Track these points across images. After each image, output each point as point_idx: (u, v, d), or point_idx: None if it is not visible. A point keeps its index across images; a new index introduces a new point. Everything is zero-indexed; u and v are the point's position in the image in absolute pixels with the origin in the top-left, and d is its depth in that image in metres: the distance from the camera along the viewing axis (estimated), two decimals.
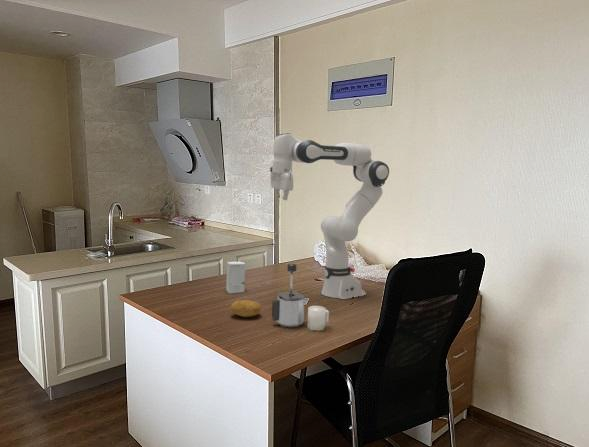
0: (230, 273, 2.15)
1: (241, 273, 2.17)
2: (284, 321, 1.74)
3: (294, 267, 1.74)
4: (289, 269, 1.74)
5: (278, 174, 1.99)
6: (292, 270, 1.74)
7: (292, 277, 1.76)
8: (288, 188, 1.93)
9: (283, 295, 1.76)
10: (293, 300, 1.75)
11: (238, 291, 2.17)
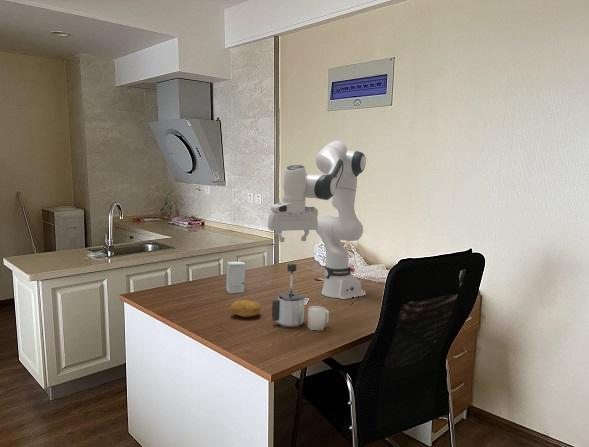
0: (230, 273, 2.15)
1: (241, 273, 2.17)
2: (284, 321, 1.74)
3: (294, 267, 1.74)
4: (289, 269, 1.74)
5: (300, 213, 1.71)
6: (292, 270, 1.74)
7: (292, 277, 1.76)
8: None
9: (283, 295, 1.76)
10: (293, 300, 1.75)
11: (238, 291, 2.17)
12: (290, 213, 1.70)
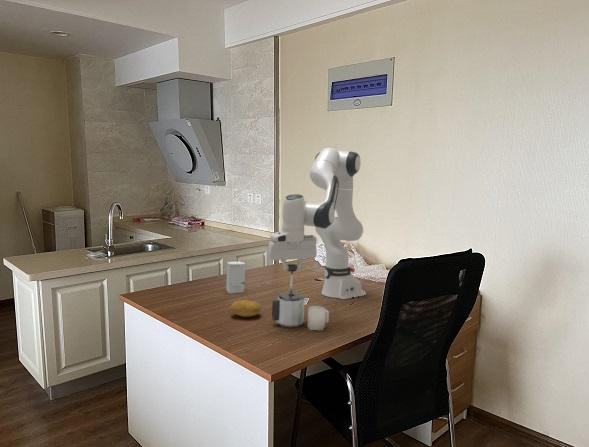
0: (230, 273, 2.15)
1: (241, 273, 2.17)
2: (284, 321, 1.74)
3: (294, 267, 1.74)
4: (289, 269, 1.74)
5: (299, 242, 1.73)
6: (292, 270, 1.74)
7: (292, 277, 1.76)
8: None
9: (283, 295, 1.76)
10: (293, 300, 1.75)
11: (238, 291, 2.17)
12: (289, 242, 1.71)
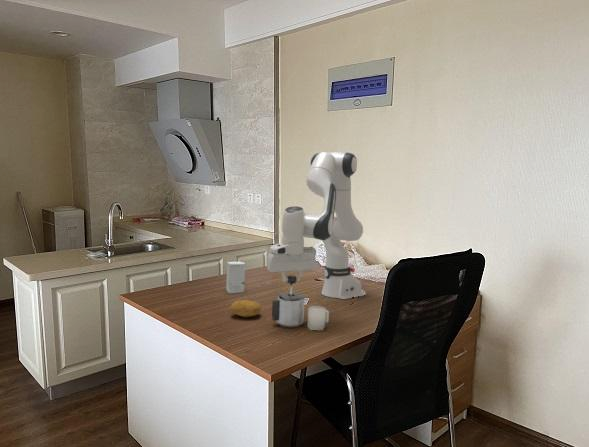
0: (230, 273, 2.15)
1: (241, 273, 2.17)
2: (284, 321, 1.74)
3: (294, 279, 1.75)
4: (289, 281, 1.75)
5: (299, 254, 1.73)
6: (292, 282, 1.75)
7: None
8: None
9: (283, 295, 1.76)
10: None
11: (238, 291, 2.17)
12: (289, 254, 1.72)
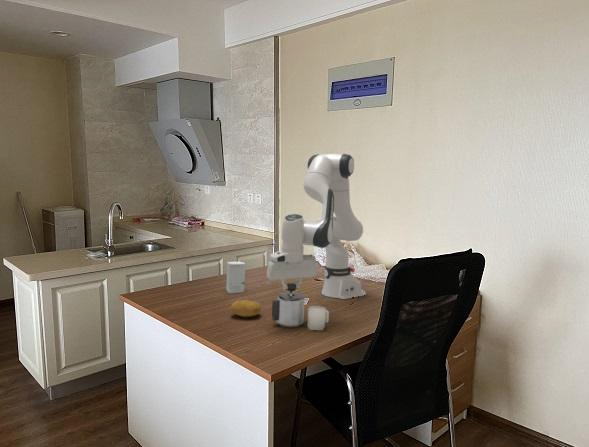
0: (230, 273, 2.15)
1: (241, 273, 2.17)
2: (284, 321, 1.74)
3: (293, 287, 1.75)
4: (288, 288, 1.75)
5: (298, 262, 1.74)
6: (291, 290, 1.75)
7: None
8: None
9: (283, 295, 1.76)
10: None
11: (238, 291, 2.17)
12: (288, 262, 1.73)
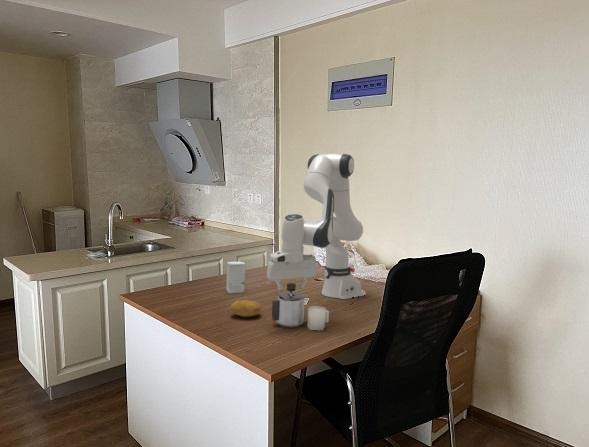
0: (230, 273, 2.15)
1: (241, 273, 2.17)
2: (284, 321, 1.74)
3: (293, 287, 1.75)
4: (288, 289, 1.75)
5: (298, 262, 1.74)
6: (291, 290, 1.75)
7: None
8: None
9: (283, 295, 1.76)
10: None
11: (238, 291, 2.17)
12: (288, 262, 1.73)
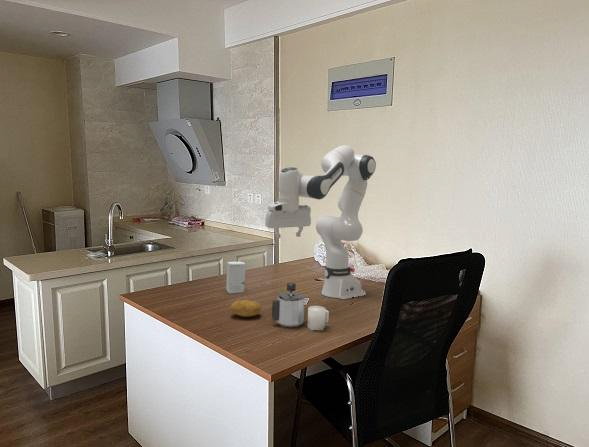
0: (230, 273, 2.15)
1: (241, 273, 2.17)
2: (284, 321, 1.74)
3: (293, 287, 1.75)
4: (288, 289, 1.75)
5: (294, 211, 1.87)
6: (291, 290, 1.75)
7: None
8: None
9: (283, 295, 1.76)
10: None
11: (238, 291, 2.17)
12: (285, 212, 1.86)
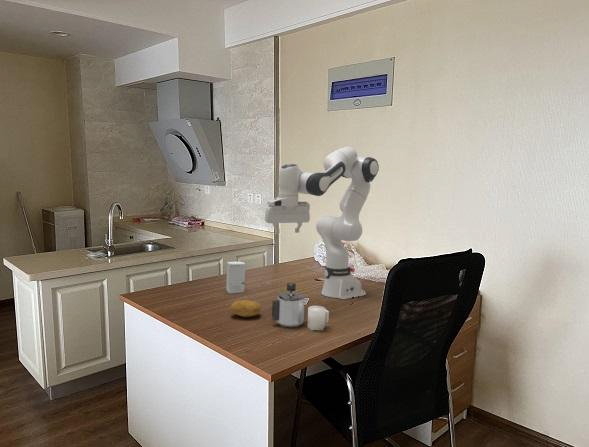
0: (230, 273, 2.15)
1: (241, 273, 2.17)
2: (284, 321, 1.74)
3: (293, 287, 1.75)
4: (288, 289, 1.75)
5: (294, 207, 1.90)
6: (291, 290, 1.75)
7: None
8: None
9: (283, 295, 1.76)
10: None
11: (238, 291, 2.17)
12: (284, 207, 1.89)
